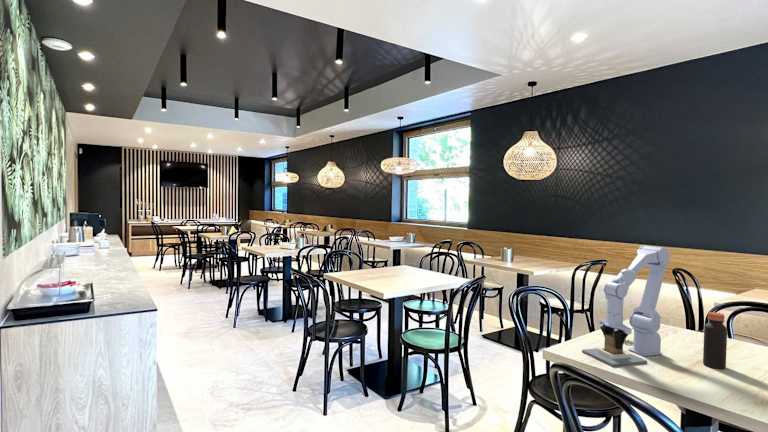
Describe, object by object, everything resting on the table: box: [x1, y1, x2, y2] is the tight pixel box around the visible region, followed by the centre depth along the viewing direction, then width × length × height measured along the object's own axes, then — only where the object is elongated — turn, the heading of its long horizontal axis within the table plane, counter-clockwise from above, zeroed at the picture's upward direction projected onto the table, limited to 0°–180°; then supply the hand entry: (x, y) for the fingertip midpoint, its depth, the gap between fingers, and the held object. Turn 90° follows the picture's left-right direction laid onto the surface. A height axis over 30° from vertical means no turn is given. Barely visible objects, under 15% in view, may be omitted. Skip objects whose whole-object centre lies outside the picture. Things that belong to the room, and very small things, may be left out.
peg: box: [603, 334, 624, 355], centre depth 164 cm, size 4×4×7 cm
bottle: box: [702, 311, 728, 370], centre depth 156 cm, size 7×7×20 cm
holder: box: [581, 347, 648, 368], centre depth 164 cm, size 16×16×2 cm
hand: (613, 346), depth 164 cm, fingers closed on peg, 4 cm apart
